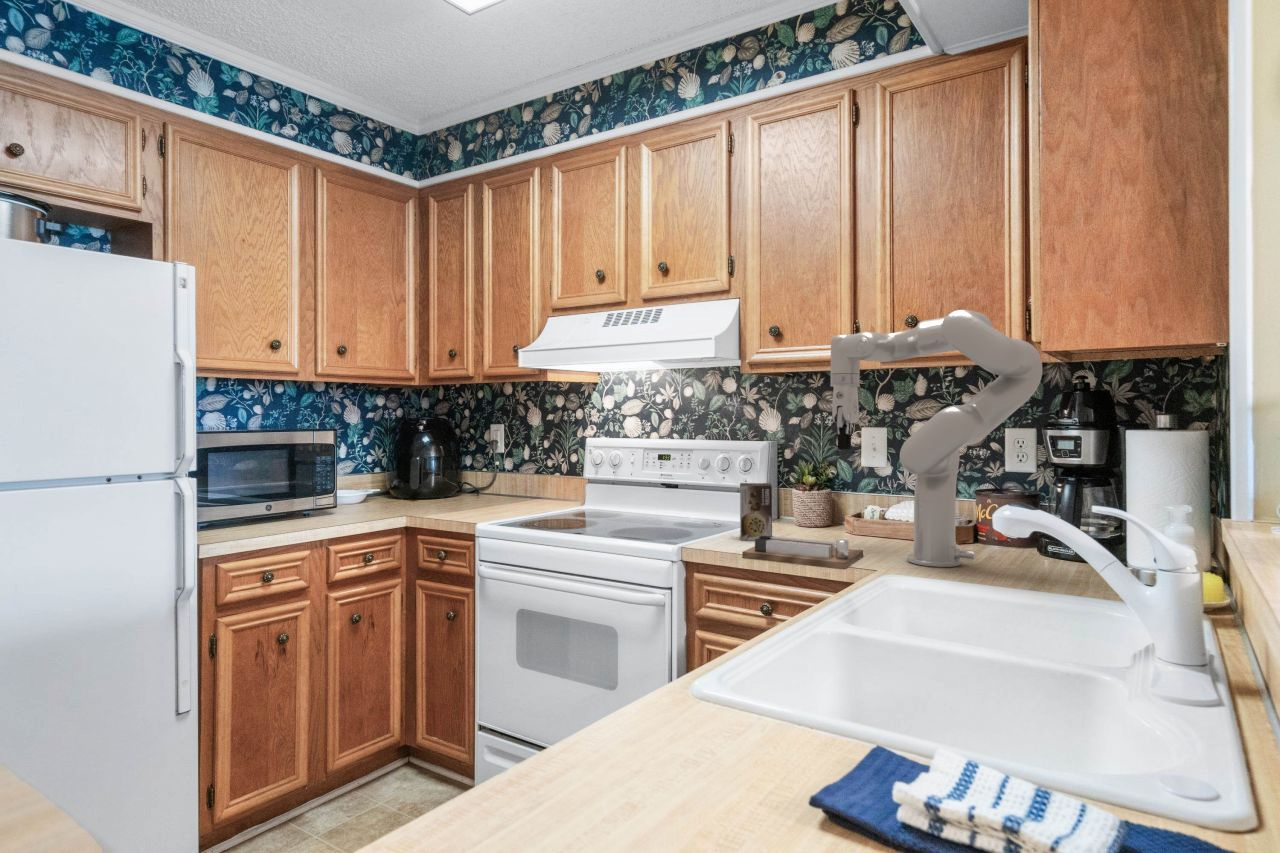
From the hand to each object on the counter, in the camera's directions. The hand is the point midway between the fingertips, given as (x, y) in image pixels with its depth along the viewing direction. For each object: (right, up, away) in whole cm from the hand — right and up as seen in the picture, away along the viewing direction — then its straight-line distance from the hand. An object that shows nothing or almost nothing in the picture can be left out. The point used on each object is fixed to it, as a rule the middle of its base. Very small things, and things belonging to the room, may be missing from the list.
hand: (844, 449), depth 201 cm
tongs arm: (-15, -26, -12) cm, 32 cm away
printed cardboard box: (-21, -27, +16) cm, 38 cm away
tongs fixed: (-15, -26, -15) cm, 33 cm away
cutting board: (-13, -27, -10) cm, 32 cm away
